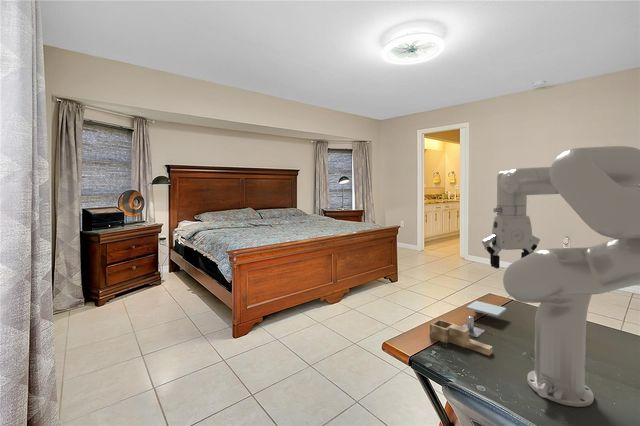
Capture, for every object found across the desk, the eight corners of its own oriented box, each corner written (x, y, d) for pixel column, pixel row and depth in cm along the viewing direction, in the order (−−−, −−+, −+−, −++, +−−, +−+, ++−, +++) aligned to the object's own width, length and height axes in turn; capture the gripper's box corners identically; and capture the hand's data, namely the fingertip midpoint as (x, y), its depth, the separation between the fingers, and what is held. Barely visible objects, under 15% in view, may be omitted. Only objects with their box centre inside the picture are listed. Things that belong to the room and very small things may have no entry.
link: (429, 337, 100) (429, 322, 100) (438, 331, 104) (438, 317, 104) (486, 358, 86) (486, 341, 86) (494, 350, 90) (494, 334, 90)
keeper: (497, 325, 106) (497, 315, 106) (466, 316, 115) (466, 306, 115) (506, 318, 112) (506, 308, 112) (476, 310, 121) (475, 300, 120)
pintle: (476, 337, 99) (476, 323, 98) (455, 330, 104) (455, 316, 104) (485, 330, 103) (485, 316, 103) (464, 324, 108) (464, 311, 108)
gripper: (490, 213, 85) (490, 271, 87) (549, 211, 86) (547, 268, 87) (476, 211, 93) (476, 264, 94) (529, 209, 93) (528, 262, 95)
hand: (510, 266), depth 91 cm, fingers open, 9 cm apart
